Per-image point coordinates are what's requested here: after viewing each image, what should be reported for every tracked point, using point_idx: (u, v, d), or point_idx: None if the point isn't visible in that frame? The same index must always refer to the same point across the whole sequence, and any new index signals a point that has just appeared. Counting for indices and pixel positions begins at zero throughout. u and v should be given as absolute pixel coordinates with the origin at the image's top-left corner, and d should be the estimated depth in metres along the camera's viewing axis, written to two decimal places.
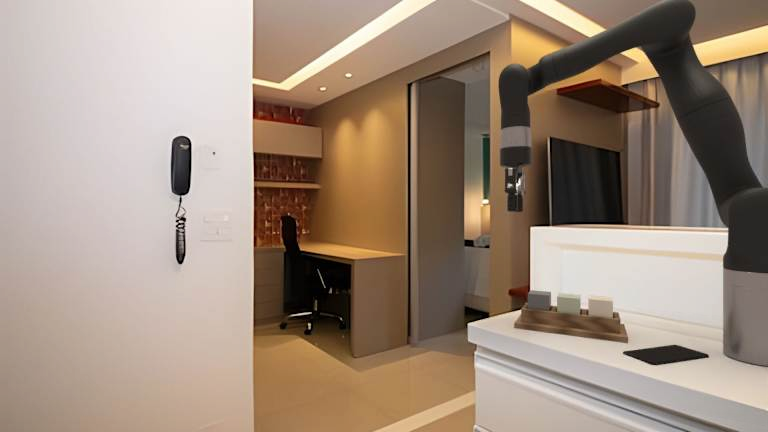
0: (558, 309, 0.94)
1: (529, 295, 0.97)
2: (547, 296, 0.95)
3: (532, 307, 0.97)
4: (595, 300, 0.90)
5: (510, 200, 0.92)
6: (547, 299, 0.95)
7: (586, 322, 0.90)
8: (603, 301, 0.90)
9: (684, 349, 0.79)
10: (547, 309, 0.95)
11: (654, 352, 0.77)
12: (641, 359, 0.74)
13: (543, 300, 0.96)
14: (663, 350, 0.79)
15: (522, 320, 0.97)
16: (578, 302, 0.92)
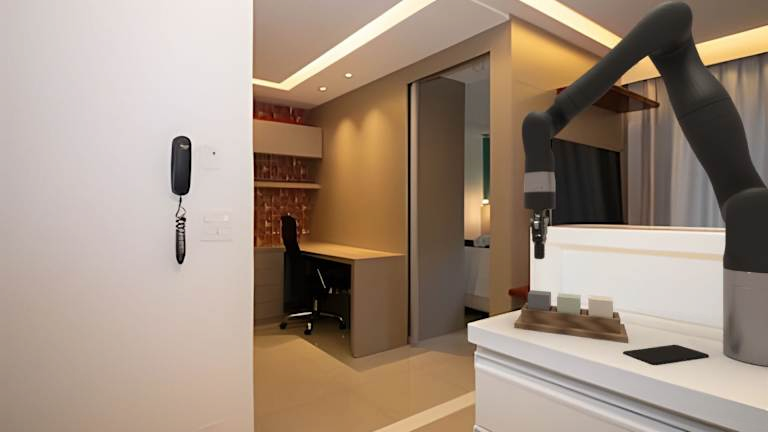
0: (558, 309, 0.94)
1: (529, 295, 0.97)
2: (547, 296, 0.95)
3: (532, 307, 0.97)
4: (595, 300, 0.90)
5: (537, 248, 0.97)
6: (547, 299, 0.95)
7: (586, 322, 0.90)
8: (603, 301, 0.90)
9: (684, 349, 0.79)
10: (547, 309, 0.95)
11: (654, 352, 0.77)
12: (641, 359, 0.74)
13: (543, 300, 0.96)
14: (663, 350, 0.79)
15: (522, 320, 0.97)
16: (578, 302, 0.92)
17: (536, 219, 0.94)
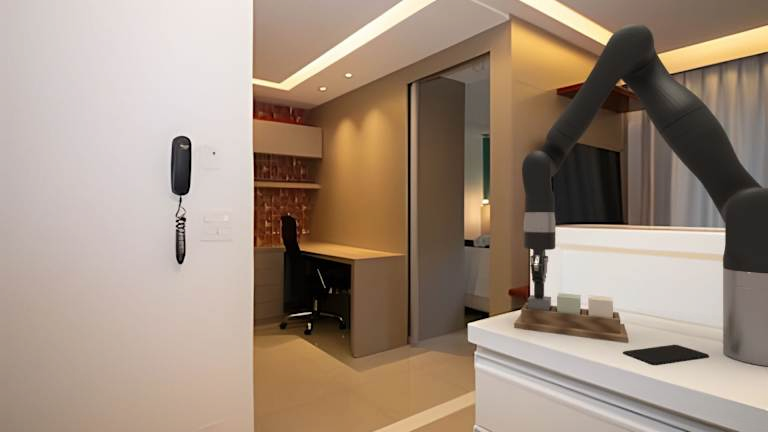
0: (558, 309, 0.94)
1: (529, 300, 0.97)
2: (547, 301, 0.95)
3: None
4: (595, 300, 0.90)
5: (537, 288, 0.97)
6: (547, 304, 0.95)
7: (586, 322, 0.90)
8: (603, 301, 0.90)
9: (684, 349, 0.79)
10: None
11: (654, 352, 0.77)
12: (641, 359, 0.74)
13: (543, 306, 0.96)
14: (663, 350, 0.78)
15: (522, 320, 0.97)
16: (578, 302, 0.92)
17: (536, 261, 0.94)
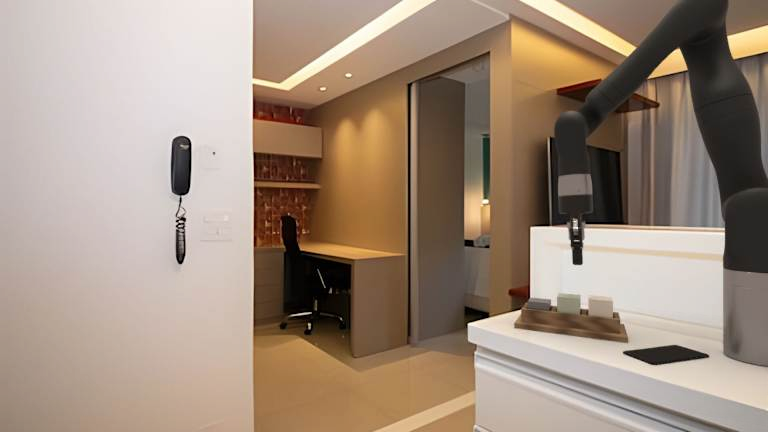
0: (558, 309, 0.94)
1: (529, 303, 0.97)
2: (547, 304, 0.95)
3: None
4: (595, 300, 0.90)
5: (575, 254, 0.93)
6: (547, 307, 0.95)
7: (586, 322, 0.90)
8: (603, 301, 0.90)
9: (684, 349, 0.79)
10: None
11: (654, 352, 0.77)
12: (641, 359, 0.74)
13: (543, 308, 0.96)
14: (663, 350, 0.78)
15: (522, 320, 0.97)
16: (578, 302, 0.92)
17: (575, 224, 0.90)
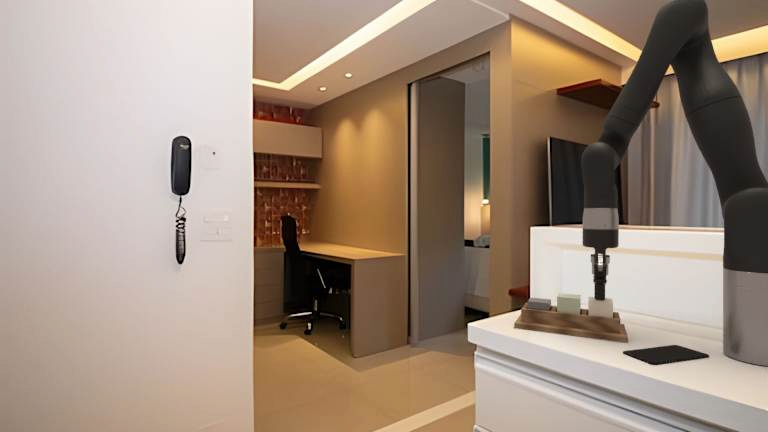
0: (558, 309, 0.94)
1: (529, 303, 0.97)
2: (547, 304, 0.95)
3: None
4: (595, 302, 0.90)
5: (598, 289, 0.91)
6: (547, 307, 0.95)
7: (586, 322, 0.90)
8: (603, 303, 0.90)
9: (684, 349, 0.79)
10: None
11: (654, 352, 0.77)
12: (641, 359, 0.74)
13: (543, 308, 0.96)
14: (663, 350, 0.78)
15: (522, 320, 0.97)
16: (578, 302, 0.92)
17: (599, 260, 0.88)
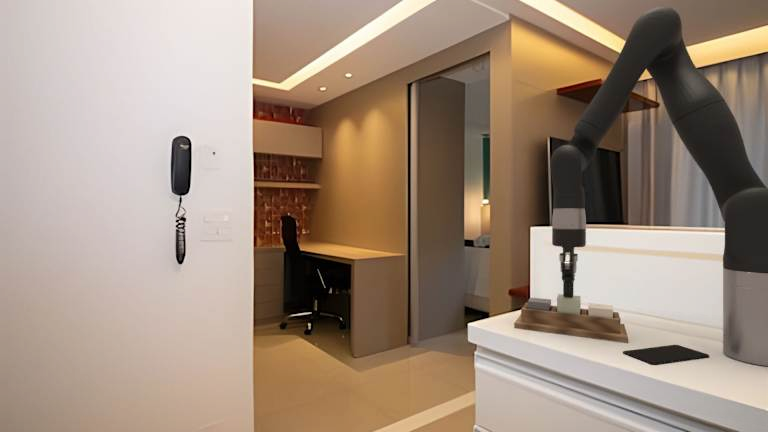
0: (558, 310, 0.94)
1: (529, 303, 0.97)
2: (547, 304, 0.95)
3: None
4: (595, 308, 0.90)
5: (566, 287, 0.94)
6: (547, 307, 0.95)
7: (586, 322, 0.90)
8: (603, 309, 0.90)
9: (684, 349, 0.79)
10: None
11: (654, 352, 0.77)
12: (640, 359, 0.74)
13: (543, 308, 0.96)
14: (663, 350, 0.78)
15: (522, 320, 0.97)
16: (578, 303, 0.92)
17: (566, 259, 0.91)
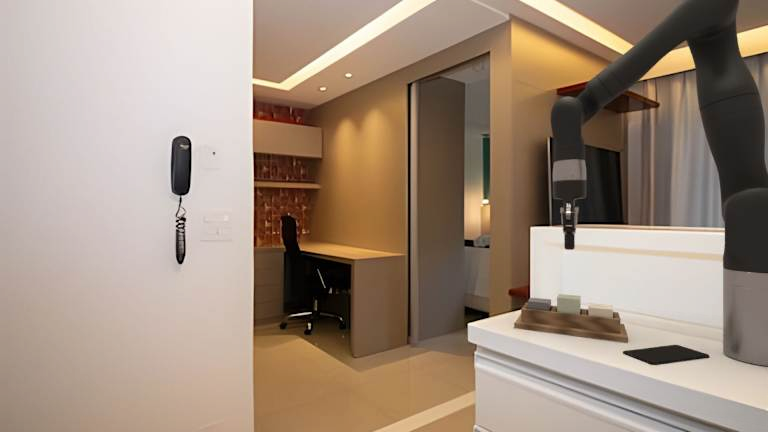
0: (558, 310, 0.94)
1: (529, 303, 0.97)
2: (547, 304, 0.95)
3: None
4: (595, 308, 0.90)
5: (568, 239, 0.94)
6: (547, 307, 0.95)
7: (586, 322, 0.90)
8: (603, 309, 0.90)
9: (685, 349, 0.79)
10: None
11: (654, 352, 0.77)
12: (640, 359, 0.74)
13: (543, 308, 0.96)
14: (663, 350, 0.78)
15: (522, 320, 0.97)
16: (578, 303, 0.92)
17: (567, 209, 0.91)
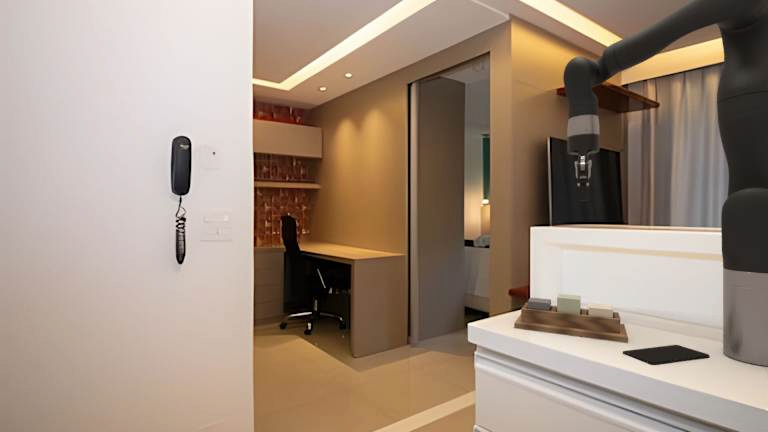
0: (558, 310, 0.94)
1: (529, 303, 0.97)
2: (547, 304, 0.95)
3: None
4: (595, 308, 0.90)
5: (581, 190, 1.01)
6: (547, 307, 0.95)
7: (586, 322, 0.90)
8: (603, 309, 0.90)
9: (685, 349, 0.79)
10: None
11: (654, 352, 0.77)
12: (640, 359, 0.74)
13: (543, 308, 0.96)
14: (663, 350, 0.78)
15: (522, 320, 0.97)
16: (578, 303, 0.92)
17: (582, 161, 0.97)
